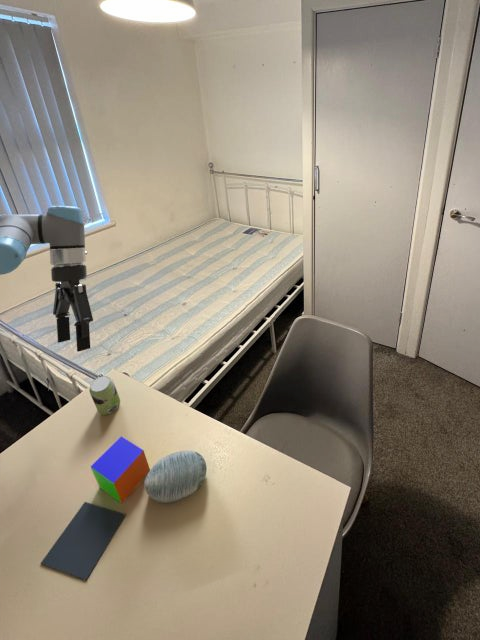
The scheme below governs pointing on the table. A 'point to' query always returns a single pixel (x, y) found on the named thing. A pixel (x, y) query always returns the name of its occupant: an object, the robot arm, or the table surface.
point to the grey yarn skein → (175, 476)
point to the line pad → (84, 541)
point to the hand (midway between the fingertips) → (73, 345)
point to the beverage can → (104, 395)
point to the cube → (121, 469)
